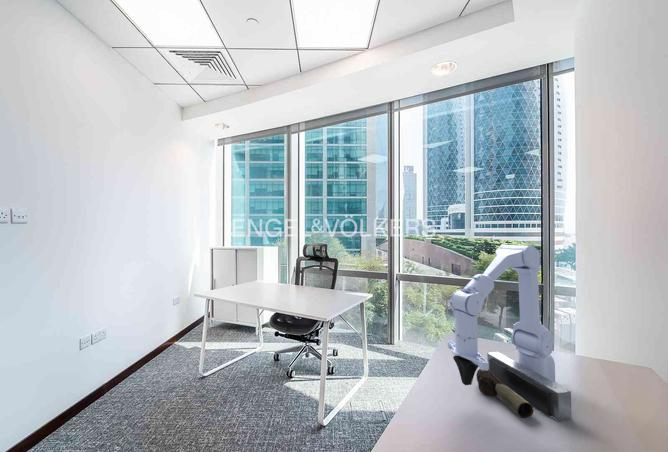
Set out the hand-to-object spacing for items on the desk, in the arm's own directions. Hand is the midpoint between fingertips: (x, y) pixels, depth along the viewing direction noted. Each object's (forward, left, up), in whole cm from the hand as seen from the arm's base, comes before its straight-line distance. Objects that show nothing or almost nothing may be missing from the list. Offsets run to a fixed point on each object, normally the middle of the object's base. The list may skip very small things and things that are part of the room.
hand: (466, 383), depth 78 cm
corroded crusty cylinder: (-10, 0, -6) cm, 11 cm away
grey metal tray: (-19, 0, -5) cm, 20 cm away
